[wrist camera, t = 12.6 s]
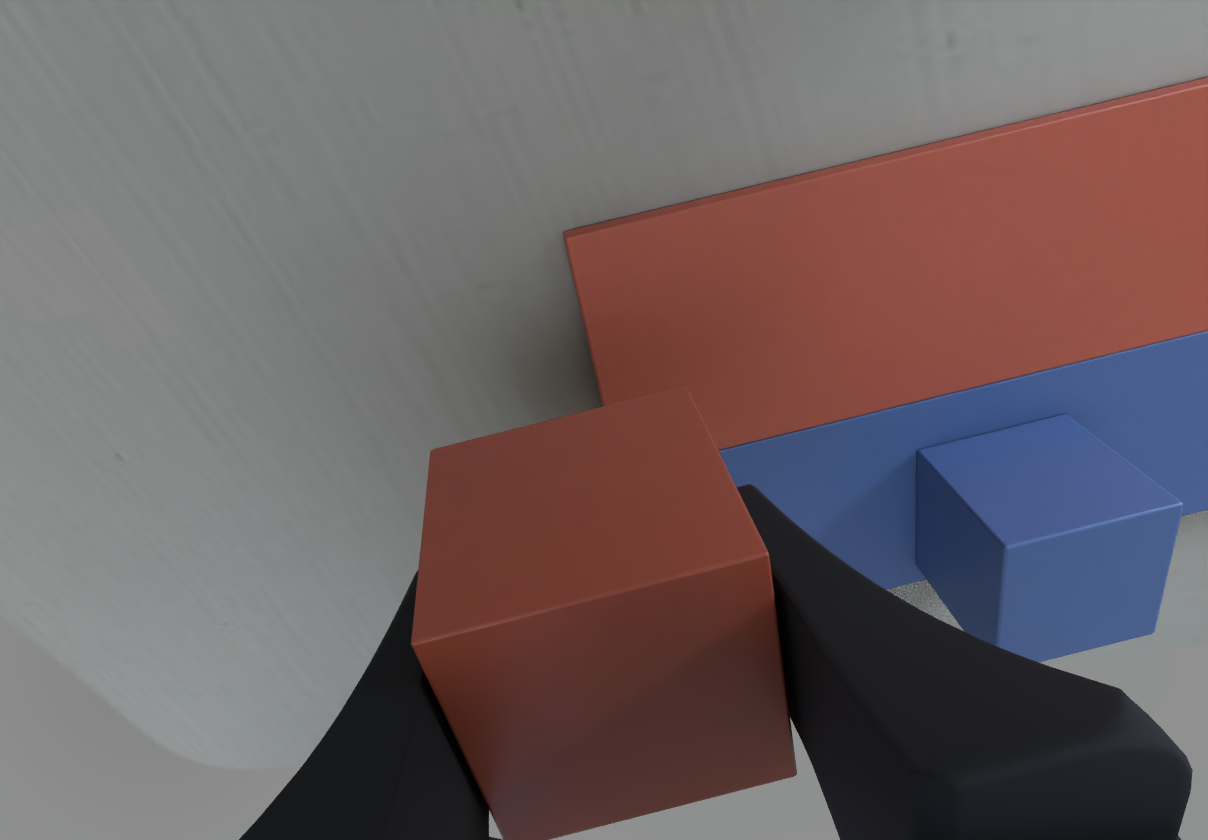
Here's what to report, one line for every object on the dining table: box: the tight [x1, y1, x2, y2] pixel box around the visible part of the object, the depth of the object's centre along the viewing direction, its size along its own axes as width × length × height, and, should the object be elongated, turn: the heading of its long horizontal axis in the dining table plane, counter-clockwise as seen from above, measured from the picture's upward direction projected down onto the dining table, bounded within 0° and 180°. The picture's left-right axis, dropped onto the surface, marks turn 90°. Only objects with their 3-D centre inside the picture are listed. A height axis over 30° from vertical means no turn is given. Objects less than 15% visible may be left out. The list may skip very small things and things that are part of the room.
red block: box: [411, 387, 797, 840], centre depth 13 cm, size 5×5×5 cm
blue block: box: [916, 414, 1183, 662], centre depth 23 cm, size 5×5×5 cm
